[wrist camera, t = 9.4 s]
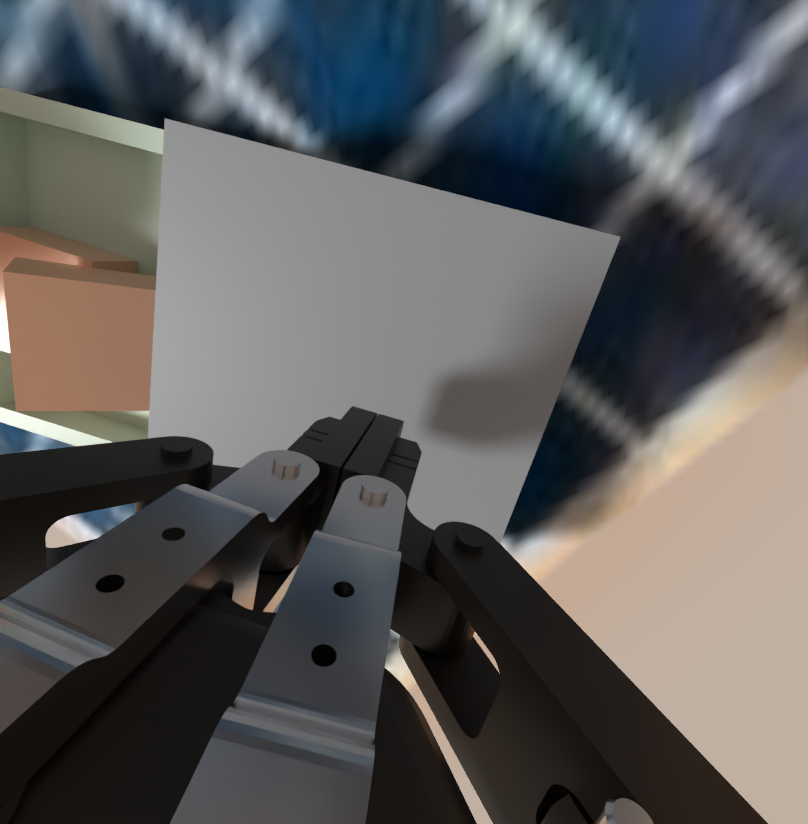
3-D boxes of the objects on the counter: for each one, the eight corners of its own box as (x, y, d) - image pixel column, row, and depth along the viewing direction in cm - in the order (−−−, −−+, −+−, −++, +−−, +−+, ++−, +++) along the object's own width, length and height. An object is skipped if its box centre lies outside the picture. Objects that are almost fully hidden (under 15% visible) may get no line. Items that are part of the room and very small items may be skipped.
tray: (19, 97, 19) (-45, 75, 17) (242, 156, 18) (207, 141, 16) (33, 401, 24) (-15, 417, 22) (209, 456, 23) (179, 478, 21)
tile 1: (92, 261, 18) (137, 260, 20) (-24, 223, 18) (34, 227, 20) (88, 379, 19) (130, 366, 22) (-18, 344, 20) (35, 335, 22)
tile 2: (176, 292, 17) (169, 278, 19) (2, 271, 15) (15, 256, 16) (170, 410, 19) (165, 386, 21) (16, 411, 16) (25, 383, 18)
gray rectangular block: (260, 160, 18) (164, 118, 13) (575, 243, 18) (620, 236, 12) (224, 460, 23) (143, 525, 18) (469, 536, 22) (466, 629, 17)
